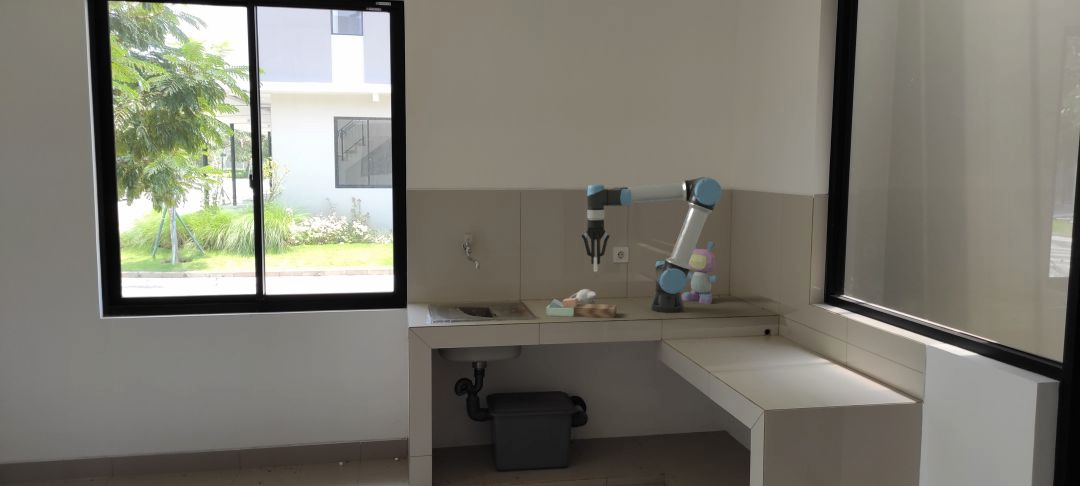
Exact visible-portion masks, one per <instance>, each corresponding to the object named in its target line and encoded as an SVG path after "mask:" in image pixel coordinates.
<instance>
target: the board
mask: <svg viewBox="0 0 1080 486" xmlns="http://www.w3.org/2000/svg"><path fill="white" fill-rule="evenodd" d="M617 307H618V306H617V304H604V303H603V304H602V303H601V304H600V303H593V304H582V303H579V304H578V305H577V306H575V307H574V316H573V317H582V318H583V317H585V318H587V317H588V318H589V317H590V318H605V319H606V318H607V319H608V318H609V319H614V317H615V316H616V315H617Z"/></svg>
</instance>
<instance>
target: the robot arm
mask: <svg viewBox="0 0 1080 486" xmlns="http://www.w3.org/2000/svg"><path fill="white" fill-rule="evenodd" d="M722 191H723V190H722V187H721V185H720V183H719V182H718V181H717V180H716V179H715V178H711V177H705V176H703V177H697V178H694V179H693V178H692V179H688V180H686V179H685V180H682V182H677V183H675V182H674V183H662V184H650V185H649V184H648V185H637V186H626V187H625V186H623V187H612V188H609V189H608V188H605V185H604V184H589V185H588V186H587V195H586V196H587V197H586V198H587V202H586V203H587V204H586V205H587V210H586V211H587V213H586V214H587V223H586V224H587V225H586V226H587V228H586V229H587V230H586V232H585V233H583V234H581V238H582V239H583V241H584V243H583V244H584V247H585V251H586V254H587V256H588V257H591V258H590V259H591V261H590V262H591V264H592V265H593V272H594V273H595V272H598V271H599V265H600V264H601V257H602V256H604V255H605V252H606V250H607V245H608V240H609V239H610V238H611V234H608V233H607V232H606V230H605V220H604V219H605V206H606V207H609V206H611V207H627V206H630V205H631V204H634V203H635V204H637V203H648V202H649V203H650V202H652V203H653V202H664V201H677V200H683V201H684V202H687V204H688V206H689V208H688V210H687V212H686V213H687V214H686V216H685V219H684V221H683V224H682V227H681V228H680V232H679V234H678V237H677V239H676V242H675V244H674V247H673V249H672V252H671V254H670V257H668V258H666V259H665V260H663V261H662V260H661V261H660V260H658V261H656V263H655V266H654V267H655V281H654V283H655V285H654V289H655V293H654V296H653V299H652V302H651V307H650V308H651V310H652V311H655V312H659V313H680V312H682V311H684V310H685V305H684V302H683V301H684V300H682V298H681V296H682V294H681V293H682V291H683V290H685V288H686V285H687V284H688V283H687V282H688V278H687V276H688V273H689V272H691V269H690V267H689V261H690V259H691V256H692V254H693V251H694V248H695V246H697V242H698V240H699V238H700V235H701V232H702V231H703V228H704V225H705V223H706V221H707V218H708V216H709V214H710V213H713V212H714V210H715V207H716V204H717V203H718V202H719V200H720V199H721V197H722V195H723V194H722ZM588 237H589V239H590V244H589V241H588ZM603 237H604V240H603V245H602V249H601V240H602V238H603ZM595 242H596V243H595ZM595 244H596V245H595ZM595 247H596V248H595Z"/></svg>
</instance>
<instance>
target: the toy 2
mask: <svg viewBox="0 0 1080 486" xmlns="http://www.w3.org/2000/svg"><path fill="white" fill-rule="evenodd" d="M715 245H716V244H715V242H714V241H708V242H707V245H706V249H705V248H698V247H697V245H696V246H695V248H694V251H693V254H692V256H691V259H690V261H689V267H690V271H689V273H688V276H687V280H691V281H690V288H691V290H690V291H684V292H683V293H682V294H681V298H682V301H685V302H692V301H698V303H699V304H705V305H706V304H707V305H710V304H712V302H713V293H711V292H710V291H711V290H712V283H717V282H718V281H719V280H720V279H719V276H718V275H717V274H714V275H710V276H709V273H712V272H714V271H715V269H716V256H715V254H714V252H712V249H713V248H714V246H715ZM691 271H694V272H691Z"/></svg>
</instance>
